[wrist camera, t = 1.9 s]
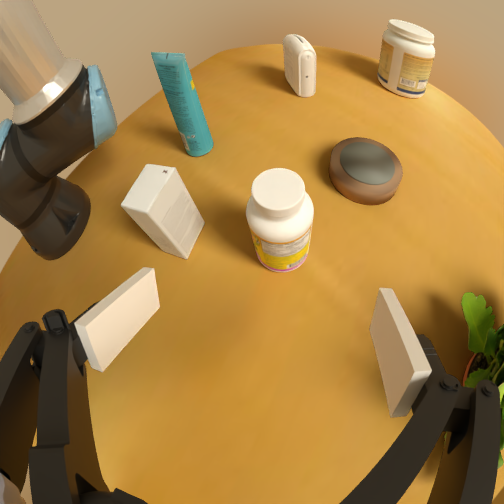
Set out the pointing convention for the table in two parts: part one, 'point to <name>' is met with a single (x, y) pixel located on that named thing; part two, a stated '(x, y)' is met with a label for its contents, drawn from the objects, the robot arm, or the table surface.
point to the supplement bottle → (280, 219)
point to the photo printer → (300, 65)
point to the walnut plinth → (365, 171)
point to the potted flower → (484, 351)
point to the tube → (183, 102)
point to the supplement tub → (406, 58)
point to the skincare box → (164, 209)
